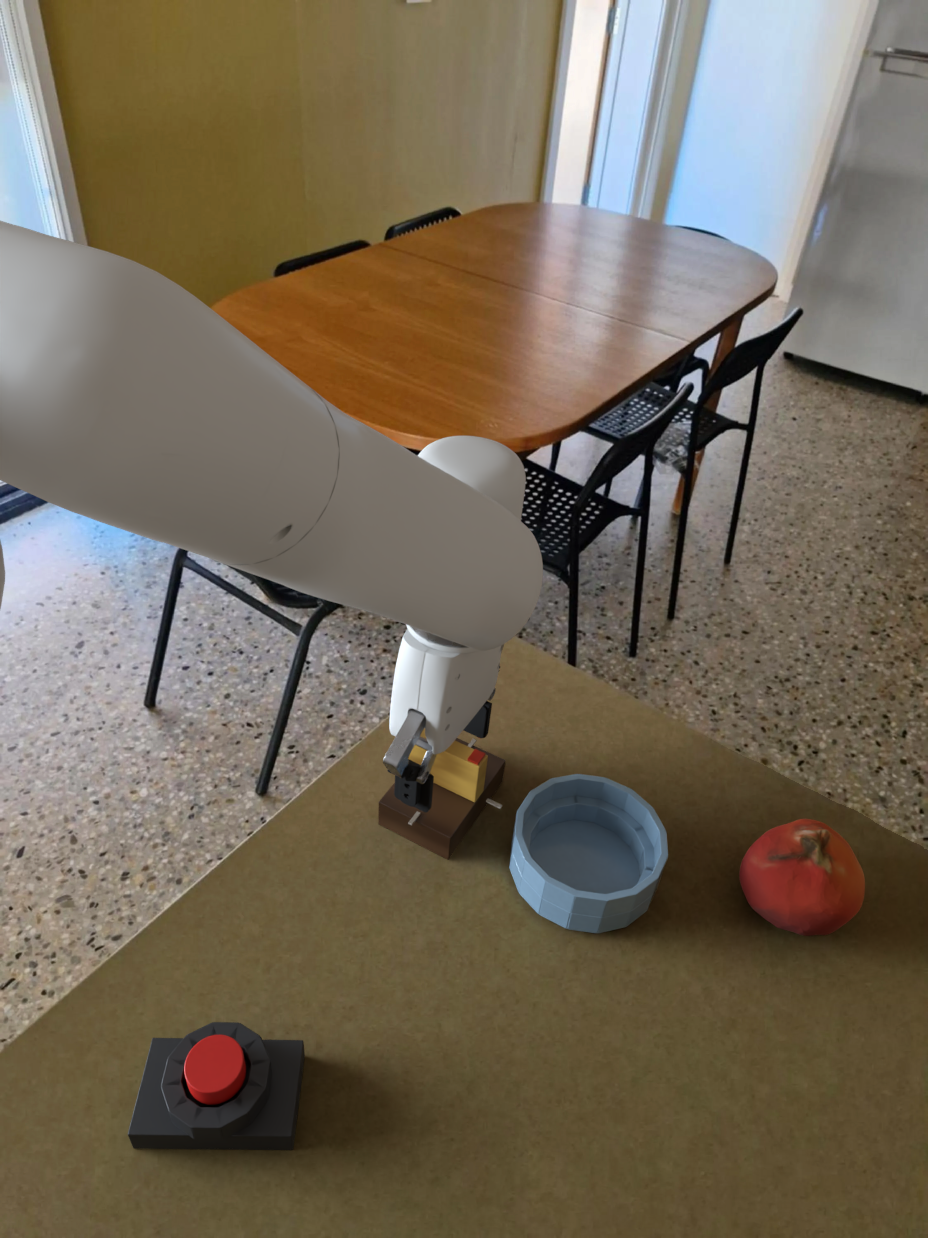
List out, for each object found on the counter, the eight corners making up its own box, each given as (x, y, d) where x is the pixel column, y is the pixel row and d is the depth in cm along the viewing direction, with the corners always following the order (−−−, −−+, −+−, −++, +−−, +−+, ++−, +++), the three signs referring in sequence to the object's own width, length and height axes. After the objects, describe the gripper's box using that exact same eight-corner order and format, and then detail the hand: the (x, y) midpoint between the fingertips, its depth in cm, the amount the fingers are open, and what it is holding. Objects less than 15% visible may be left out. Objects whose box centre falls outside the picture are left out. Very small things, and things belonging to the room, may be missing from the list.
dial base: (466, 877, 73) (469, 853, 71) (353, 818, 77) (353, 795, 75) (526, 787, 81) (530, 764, 79) (421, 738, 85) (422, 715, 83)
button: (181, 1105, 55) (177, 1093, 54) (194, 1046, 57) (191, 1033, 56) (240, 1106, 55) (238, 1093, 54) (250, 1047, 58) (248, 1034, 57)
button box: (132, 1153, 56) (120, 1127, 53) (158, 1049, 61) (149, 1020, 58) (292, 1155, 56) (289, 1129, 54) (305, 1051, 61) (302, 1023, 59)
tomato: (857, 890, 75) (892, 831, 70) (833, 977, 68) (870, 919, 63) (749, 840, 78) (775, 780, 73) (717, 919, 72) (743, 859, 66)
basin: (623, 963, 68) (636, 927, 65) (483, 890, 72) (488, 853, 69) (674, 850, 76) (687, 813, 73) (546, 791, 81) (554, 754, 77)
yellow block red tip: (404, 769, 78) (406, 731, 75) (414, 757, 79) (416, 720, 76) (475, 803, 75) (479, 765, 72) (483, 790, 76) (488, 753, 73)
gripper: (469, 535, 72) (454, 690, 83) (346, 650, 60) (347, 814, 70) (553, 566, 69) (526, 722, 80) (442, 692, 57) (428, 856, 68)
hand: (442, 765), depth 75 cm, fingers open, 9 cm apart
